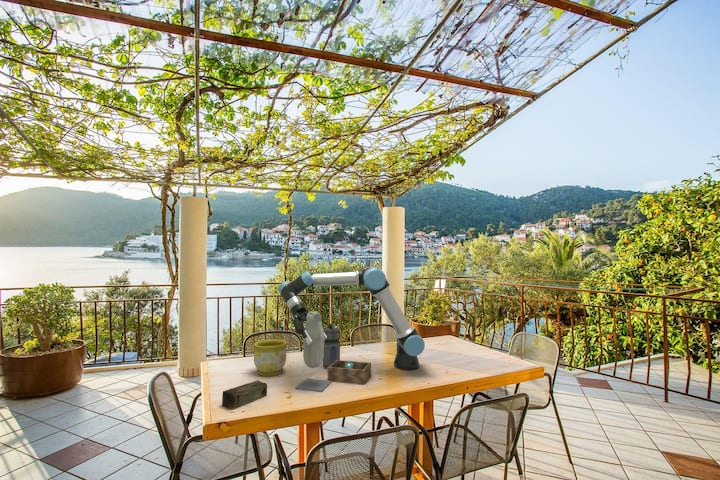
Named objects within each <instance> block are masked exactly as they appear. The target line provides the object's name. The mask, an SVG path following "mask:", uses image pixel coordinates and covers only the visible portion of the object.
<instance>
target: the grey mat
mask: <svg viewBox="0 0 720 480" xmlns="http://www.w3.org/2000/svg"><path fill="white" fill-rule="evenodd" d="M332 383H333V381H328V380H327V379H318V378H317V379H316V378H306V379H304V380H303V381H302V382H300V383H299V384H298V385H297V386H296V387H295V389H296V390H302V391H311V392H312V391H313V392H320V393H322V392H323V391H325V390H326V389H327V388H328V387H329V386H330V385H331V384H332Z"/></svg>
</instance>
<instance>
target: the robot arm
mask: <svg viewBox="0 0 720 480" xmlns="http://www.w3.org/2000/svg"><path fill="white" fill-rule="evenodd" d="M351 285H356V286H357V287H366V288H367V289H368V292H369V293H370V294H371V296H373V297H375V298H376V300H377V301H378V303H379V305H380V306H381V308H382V310H383V312H384V313H385V315H386V316H387V318H388V321H389V322H390V323H391V325H392V327H393V329H394V330H395V333H396V336H395V337H396V353H395V357H394V360H393V367H394V368H395V369H399V370H403V371H404V370H406V371H407V370H408V371H409V370H410V371H411V370H412V371H414V370H417V369H419V368H420V361H419V358H418V356H420V355H421V354H422V353H423V352H424V350H425V348H426V347H425V341H424V338H423V337H422V336H420V334H419V332H418V330H417V328H416V327H415V326H414V325H411V324H410V322H409V321H408V319H407V317H406V315H405V314H404V312H403V310H402V308H401V307H400V305H399V303H398V302H397V300H396V299H395V297H394V296H393V293H392V292H391V290H390V286H391V285H390V283H389V281H388V279H387V277H386V274H385V272H384V271H383V270H382V269H381V268H377V267H368V268H362V269H356V270H355V271H344V272H342V271H341V272H324V273H320V272H319V273H310V272H309V271H307V270H306V271H304V272H303V273H301V274H300V275H299V276H298V277H296V278H295V279H294V280H292V281H290V282H289V281H288V280H287V281H284V282H281V283H280V284H279V285H278V287H277V290H278V292H279V295H280V296H281V298H282V299H283V301H284V303H285V304H286V305H287V307H288V309H289V311H290V312H291V314H292V316H291V317H290V319H291V321H292V323H293V327H294V329H295V332H296V334H298V335H299V336H300V335H301V337H302V338H304V339H305V340H306V342H307V343H308V345H309V344H310V343H311V342H312V340H311V338H310V336H309V335H308V333H307V332H306V330H305V326H304V323H306V317H307V314H308V313H309V312H308V311H307V307H306V306H305V304H304V303H303V301H302V300H301V298H300V296H299V294H300V293H301V292H303V291H304V290H306V289H307V288H315V287H331V286H351ZM323 326H324V324H323V323H322V327H323ZM304 330H305V331H304ZM326 338H327V336H326V335H325V333H324V341H325V339H326Z"/></svg>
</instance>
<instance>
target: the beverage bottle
mask: <svg viewBox="0 0 720 480" xmlns="http://www.w3.org/2000/svg"><path fill="white" fill-rule="evenodd" d="M323 331H324V333H325V335H326V336H327V338H326V339H325V340H324V358H323V362H322V366H323V368H325V369H327V367H328V366H330V365H331V364H332V363H333V362H335V361H336V360H341V341H340V339H341V328H340V327H338V328H335V324H333V325H332V323H328V324H327V328H323Z"/></svg>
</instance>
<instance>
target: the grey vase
mask: <svg viewBox="0 0 720 480" xmlns="http://www.w3.org/2000/svg"><path fill="white" fill-rule="evenodd" d="M322 322H323V321H322V315H321V313H320V312H319V311H318V310H317V311H316V310H311V311H309V312H308V314H307V317H306V322H305V326H304V331H305V330H306V332H307V333H308V335H309V336H310V338H311V340H312V342H311V343H310V344H309V345H308V343H307V342H306V340H305V339H304V338H303V337H302V338H303V339H302V340H303V342H302V343H303V345H302V346H303V350H302V351H303V353H302V354H303V356H302V357H303V363H304V364H305V365H306V367H308V368H311V369H315V368H318V367H321V366H322V365H323V358H324V341H325V340H324V331H323V330H324V328H323V326H322V324H323V323H322Z"/></svg>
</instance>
